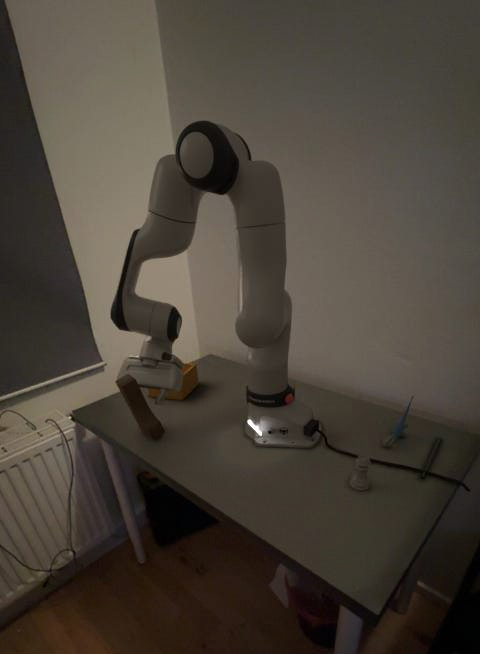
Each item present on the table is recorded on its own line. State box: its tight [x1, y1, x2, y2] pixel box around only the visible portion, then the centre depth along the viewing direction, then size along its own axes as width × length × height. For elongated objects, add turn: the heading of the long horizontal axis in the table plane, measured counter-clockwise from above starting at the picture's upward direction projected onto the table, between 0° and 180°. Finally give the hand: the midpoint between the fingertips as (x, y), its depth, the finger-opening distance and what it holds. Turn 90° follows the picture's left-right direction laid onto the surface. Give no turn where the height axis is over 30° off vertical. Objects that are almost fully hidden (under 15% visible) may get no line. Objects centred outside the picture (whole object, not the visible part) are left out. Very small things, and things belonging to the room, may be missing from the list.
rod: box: [420, 436, 442, 480], centre depth 87 cm, size 1×19×1 cm, turn 143°
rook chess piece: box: [349, 454, 372, 492], centre depth 79 cm, size 4×4×8 cm
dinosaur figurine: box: [380, 395, 414, 449], centre depth 93 cm, size 3×15×10 cm
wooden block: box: [114, 374, 165, 440], centre depth 100 cm, size 9×4×18 cm, turn 39°
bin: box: [147, 362, 200, 401], centre depth 128 cm, size 14×14×8 cm
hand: (143, 402), depth 101 cm, fingers open, 8 cm apart
